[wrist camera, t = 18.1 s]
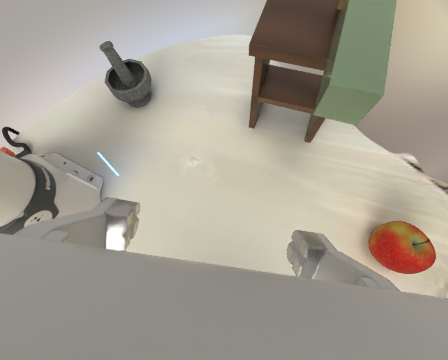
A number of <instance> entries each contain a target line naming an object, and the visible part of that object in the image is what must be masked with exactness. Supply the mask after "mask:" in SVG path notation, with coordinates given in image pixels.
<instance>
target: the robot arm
mask: <svg viewBox="0 0 448 360" xmlns="http://www.w3.org/2000/svg"><path fill="white" fill-rule="evenodd" d="M8 131H10V132H12V133H14V134H16V135H19V134H20V132H18V131H16V130H14V129H12V128H10V127H4V128H3V130H2V132H3V136H4V138H5V139H6V140H7V142H8V143H9V144H10V145H12V146H14V147H23V148H24V150H23V151H22V152H21V153H19V154H17V155H16V156H15V154H14V153H13V152H12V151H11V150H9V149H7V148H5V147H2V148H1V149H0V360H448V299H447V298H440V297H433V296H427V295H420V294H413V293H406V292H401V291H400V290H399V289H398V288H397V287H396V286H395V285H394V284H393V283H392V282H391V281H390V280H388V279H386V278H385V277H383V276H381V275H379V274H378V273H376V272H374V271H373V270H371V269H369V268H368V267H366V266H364V265H362V264H361V263H359V262H357V261H356V260H354V259H352V258H350V257H349V256H347V255H345V254H344V253H342V252H338V251H337V249H336V248H335V247H334V246H333V245H332V244H331V243H330V241H329V240H328V239H327V238H326V237H325V236H324V235H323V234H320V233H314V232H307V231H300V230H295V231H294V232H293V234H292V236H291V237H292V240H293V241H292V242H291V243H289V245H288V248H287V258H288V261H289V262H290V263H291V264H292V265H293V267H292V269H293V271H294V273H295V275H296V276H289V275H282V274H275V273H269V272H262V271H255V270H248V269H241V268H234V267H228V266H221V265H214V264H207V263H200V262H193V261H187V260H180V259H173V258H166V257H159V256H152V255H146V254H139V253H132V252H125V250H126V249H127V247H128V245H129V244H130V239H132V238H133V237H134V235H135V233H136V230H137V227H138V221H139V219H138V218H137V215H138V213H139V212H140V203H137V202H132V201H126V200H121V199H117V198H110V197H107V198H105V199H104V200H103V201H102V202H101V197H100V192H101V188H102V185H103V179H102V178H101V177H99V176H98V175H96V174H94V173H92V172H90V171H88V170H86V169H85V168H83V167H81V166H79V165H77V164H75V163H74V162H72V161H70V160H68V159H66V158H64V157H63V156H61V155H59V154H57V153H54V152H52V153H48V154H46V155H43V156H39V155H37V154H32V153H30V149H29V147H28V146H27V145H26V144H24V143H15V142H13V141H12V140H11V138H10V137H9V135H8ZM97 154H98V155H99V156H100V157H101V158H102V159H103V160H104V161H105V163H106V164H107V165H108V166H109V167H110V168H111V169H112V170H113V172H114V173H115V174H116V175H117V176H119V174H118V173H117V172H116V171H115V170H114V168H113V167H112V166H111V165H110V164H109V163H108V162H107V161H106V160H105V158H104V157H103V156H102V155H101V154H100V153H99V152H98V153H97ZM14 156H15V157H14ZM92 178H93V180H92ZM91 180H92V181H91Z"/></svg>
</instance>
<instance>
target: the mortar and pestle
mask: <svg viewBox="0 0 448 360" xmlns="http://www.w3.org/2000/svg"><path fill="white" fill-rule="evenodd" d="M100 49H101V51H103V52H104V53H105V55H106V56H107V58H108V60H109V61H110V63H111V65H112V67H111V68H110V69H109V70H108V71H107V74H106V78H105V83H106V85H107V86H108V88H109V89H110V91H111V92H112V93H113V95H114V96H115V97H117V98H118V99H120V100H122V101H126V102H128V103H129V104H130V105H131V106H134V107H140V106H144V105H146V104H147V103H148V102H149V101H150V98H151V92H150V85H151V77H150V74H149V71H148V69H147V68H146V67H145V66H144V64H143V63H142V62H141V61H136V60H132V59H128V60H125V61H122V59H121V58H120V56H119V55H118V54H117V52H116V51H115V49H114V48H113V44H112V43H111V42H110V41H107V42H105V43H103V44H101V45H100Z"/></svg>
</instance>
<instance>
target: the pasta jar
mask: <svg viewBox="0 0 448 360" xmlns="http://www.w3.org/2000/svg"><path fill="white" fill-rule="evenodd" d="M395 8H396V0H338V4H337V8H336V9H337V10H339V13H338V17H337V21H336V25H335V29H334V33H333V37H332V41H331V45H330V49H329V53H328V57H327V61H326V65H325V69H324V73H323V77H322V81H321V85H320V89H319V93H318V97H317V101H316V105H315V109H314V113H313V115H315V116H319V117H323V118H327V119H332V120H336V121H340V122H344V123H348V124H353V125H357V124H358V123H359V122H360V121H361V120H362V119H363V118H364V117H365V116H366V114H367V113H368V112H369V111H370V110H371V109H372V108H373V107H374V106H375V104H376V103H377V102H378V101H379V100H380V99H381V98H382V97H383V95H384V89H385V82H386V75H387V67H388V60H389V51H390V45H391V37H392V30H393V22H394V14H395Z"/></svg>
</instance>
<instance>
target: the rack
mask: <svg viewBox="0 0 448 360" xmlns="http://www.w3.org/2000/svg"><path fill="white" fill-rule="evenodd" d="M337 4H338V0H267V2H266V4H265V7H264V9H263V12H262V14H261V17H260V19H259V22H258V24H257V27H256V29H255V32H254V34H253V36H252V39H251V41H250V44H249V55H250V56H255V65H254V76H253V87H252V98H251V110H250V121H249V127H250V128H254V127H255V124H256V121H257V118H258V115H259V112H260V109H261V106H262V103H263V102H264V103H268V104H273V105H277V106H281V107H285V108H290V109H294V110H298V111H302V112H307V113H311V118H310V122H309V126H308V130H307V134H306V138H305V142H309V143H310V142H311V140H312V139H313V137H314V136H315V134H316V132H317V131H318V129H319V128H320V126H321V124H322V123H323V121H324V120H325V118H323V117H319V116H315V115H313V113H314V109H315V105H316V101H317V97H318V93H319V89H320V85H321V81H322V77H323V76H321V75H316V74H311V73H306V72H302V71H297V70H292V69H287V68H283V67H278V66H273V65H269V63H270V60H274V61H279V62H285V63H289V64H294V65H300V66H304V67H309V68H314V69H319V70H324V69H325V65H326V61H327V57H328V53H329V49H330V45H331V41H332V37H333V33H334V29H335V25H336V21H337V17H338V13H339V10H337V9H336V8H337Z"/></svg>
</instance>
